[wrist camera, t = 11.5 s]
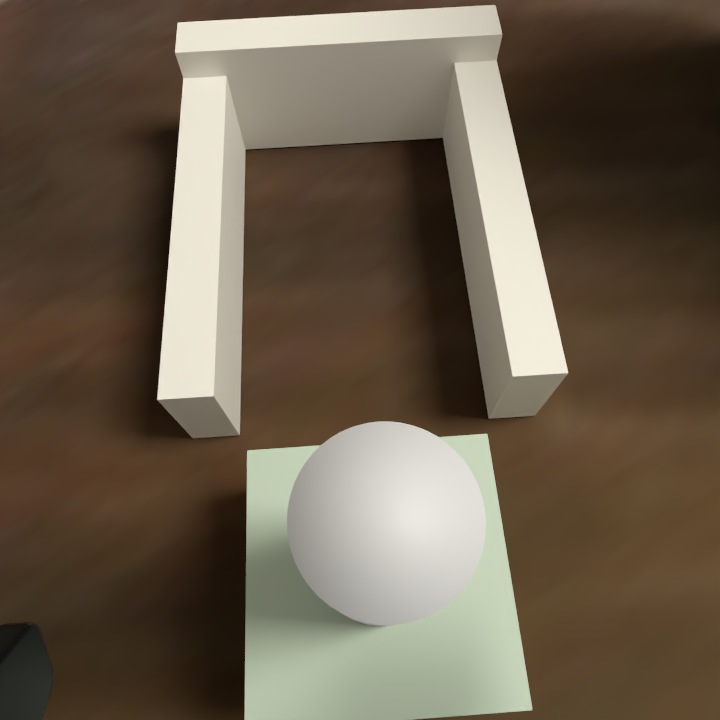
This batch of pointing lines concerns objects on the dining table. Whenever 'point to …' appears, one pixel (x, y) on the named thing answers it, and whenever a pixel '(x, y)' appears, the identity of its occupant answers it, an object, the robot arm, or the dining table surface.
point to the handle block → (379, 580)
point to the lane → (342, 126)
